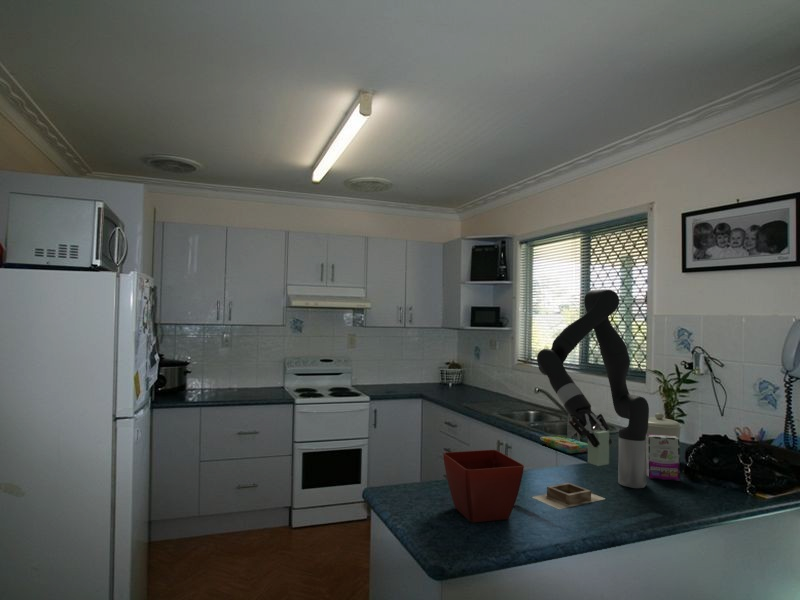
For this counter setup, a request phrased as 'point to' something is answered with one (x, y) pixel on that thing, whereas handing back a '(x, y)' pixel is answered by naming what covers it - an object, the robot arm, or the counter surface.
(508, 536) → the counter surface
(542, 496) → the puzzle board
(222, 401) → the counter surface
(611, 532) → the counter surface
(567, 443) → the puzzle game
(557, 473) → the counter surface
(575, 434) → the coffee box
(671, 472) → the candy bar box
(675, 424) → the canister
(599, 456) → the sage block
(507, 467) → the plant pot
